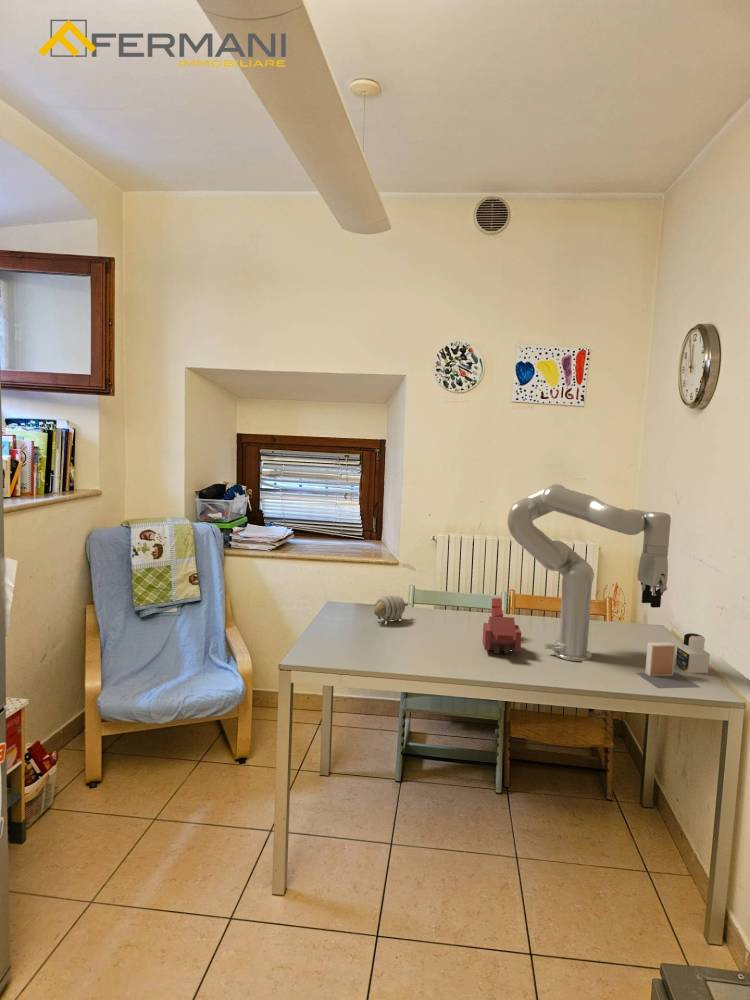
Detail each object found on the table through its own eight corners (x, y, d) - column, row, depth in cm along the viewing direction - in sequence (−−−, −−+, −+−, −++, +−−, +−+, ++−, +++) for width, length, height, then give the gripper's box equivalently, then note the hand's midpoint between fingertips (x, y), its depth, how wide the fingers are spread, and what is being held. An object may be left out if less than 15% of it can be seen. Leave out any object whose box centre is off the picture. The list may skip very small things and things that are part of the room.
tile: (649, 676, 198) (652, 645, 197) (645, 673, 200) (647, 642, 199) (673, 675, 199) (675, 645, 198) (668, 672, 201) (670, 642, 200)
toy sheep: (365, 622, 245) (366, 595, 244) (395, 614, 257) (396, 588, 256) (385, 629, 238) (386, 600, 237) (414, 620, 250) (415, 593, 249)
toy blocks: (515, 667, 222) (510, 605, 237) (524, 641, 206) (517, 576, 222) (481, 666, 223) (477, 604, 238) (487, 640, 207) (483, 575, 222)
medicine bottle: (675, 666, 209) (678, 631, 208) (695, 666, 209) (698, 631, 208) (687, 674, 202) (690, 638, 201) (708, 674, 202) (711, 638, 201)
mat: (657, 690, 188) (657, 688, 188) (635, 674, 200) (636, 672, 200) (700, 688, 190) (700, 687, 190) (676, 673, 202) (676, 671, 202)
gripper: (630, 545, 211) (626, 598, 213) (659, 555, 194) (655, 612, 196) (651, 545, 212) (646, 598, 214) (682, 555, 195) (677, 612, 197)
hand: (650, 604), depth 205 cm, fingers open, 4 cm apart
